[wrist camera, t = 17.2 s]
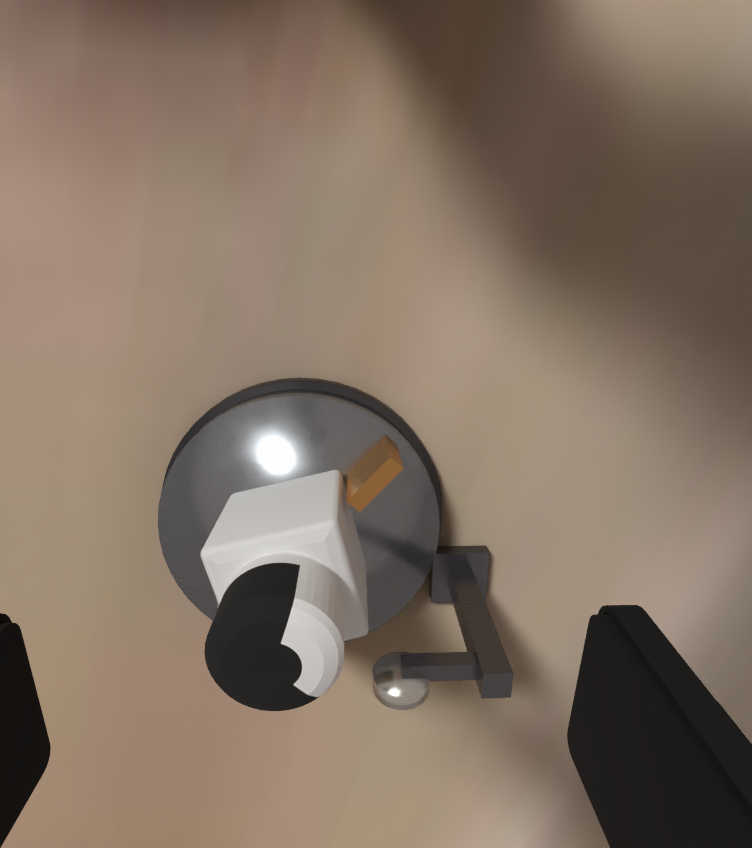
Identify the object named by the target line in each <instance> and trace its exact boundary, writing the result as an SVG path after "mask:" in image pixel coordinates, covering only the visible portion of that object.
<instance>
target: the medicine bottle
mask: <svg viewBox="0 0 752 848" xmlns="http://www.w3.org/2000/svg"><path fill="white" fill-rule="evenodd" d="M346 498H347V493H346V489H345V485H344V482H343V478H342V474H341V473H340V471H338V470H332V471H328V472H323V473H319V474H315V475H310V476H306V477H302V478H298V479H293V480H289V481H285V482H280V483H276V484H272V485H267V486H263V487H259V488H255V489H250V490H246V491H242V492H237V493H234V494H232V495H231V496H230V498H229V500H228V501H227V503H226V505H225V507H224V509H223V511H222V513H221V515H220V516H219V518H218V520H217V522H216V524H215V526H214V528H213V530H212V531H211V533H210V535H209V537H208V539H207V541H206V543H205V545H204V547H203V548H202V550H201V559H202V561H203V564H204V567H205V569H206V572H207V575H208V577H209V580H210V582H211V585H212V588H213V590H214V593H215V596H216V598H217V601H218V604H219V607H218V610H217V612H216V615H215V617H214V620H213V622H212V625H211V627H210V630H209V633H208V635H207V639H206V643H205V660H206V664H207V667H208V670H209V672H210V674H211V676H212V677H213V679H214V681H215V682H216V683H217V684H218V685H219V687H220V688H221V689H222V690H223V691H224V692H225V693H226V694H227V695H228V696H230V697H231V698H233V699H234V700H236V701H237V702H239V703H241V704H243V705H246V706H249V707H251V708H255V709H259V710H266V711H283V710H290V709H294V708H298V707H301V706H303V705H306V704H308V703H310V702H312V701H313V700H315V699H317V698H318V697H320V696H321V695H323V694H324V693H325V692H326V691H327V690H328V689H329V688H330V687H331V686H332V685H333V684H334V682H335V681H336V679H337V678H338V676H339V674H340V671H341V669H342V665H343V661H344V641H346V640H350V639H355V638H359V637H363V636H365V635H366V634H367V633H368V608H367V586H366V563H365V559H364V555H363V552H362V548H361V544H360V541H359V537H358V533H357V530H356V526H355V522H354V519H353V515H352V511H351V508H350V504H349V503H348V502H346Z"/></svg>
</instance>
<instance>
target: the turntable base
mask: <svg viewBox="0 0 752 848" xmlns="http://www.w3.org/2000/svg"><path fill="white" fill-rule="evenodd" d="M288 389H312V390H319V391H326V392H332V393H335V394H339V395H342V396H346V397H349V398H351V399H354V400H356V401H358V402H361V403H363V404H365V405H367V406H369V407H370V408H372V409H374V410H376V411H377V412H379V413H381V414H382V415H383V416H384V417H386V418H387V419H388V420H390V421H391V422H392V423H393V424H395V425H396V426H397V427H398V428H399V429H400V430H401V431H402V432H403V433H404V434H405V435H406V437H407V438H408V439H409V440H410V442H411V443H412V445H413V446H414V447H415V449H416V450H417V452H418V453H419V455H420V457H421V459H422V461H423V463H424V464H425V467H426V469H427V472H428V475H429V477H430V480H431V483H432V486H433V488H434V491H435V495H436V499H437V504H438V508H439V522H440V528H439V535H440V530H441V521H442V498H441V492H440V486H439V481H438V478H437V475H436V472H435V469H434V466H433V464H432V461H431V459H430V457H429V455H428V453H427V451H426V449H425V447H424V445H423V444H422V442H421V441H420V439H419V438H418V436H417V435H416V433H415V432H414V431H413V430H412V428H411V427H410V426H409V425H408V424H407V423H406V422H405V421H404V419H403V418H402V417H400V416H399V415H398V414H397V413H396V412H394V411H393V410H392V409H391V408H390V407H389V406H387V405H385V404H384V403H382V402H381V401H379V400H378V399H376V398H375V397H373V396H371V395H369V394H367V393H365V392H363V391H360V390H358V389H356V388H353V387H350V386H347V385H344V384H341V383H338V382H332V381H327V380H322V379H311V378H290V379H279V380H274V381H269V382H264V383H260V384H257V385H254V386H251V387H248V388H245V389H243V390H241V391H239V392H237V393H235V394H233V395H231V396H229V397H227V398H225V399H224V400H222V401H221V402H220V403H218V404H217V405H215V406H214V407H212V408H211V409H210V410H209V411H208V412H207V413H206V414H204V415H203V416H202V417H201V418H200V419H199V420H198V421H197V422H196V423H195V424H194V425H193V426H192V427H191V429H190V430H189V431H188V432H187V434H186V435H185V436H184V437H183V438H182V440H181V442H180V443H179V445H178V447H177V448H176V450H175V452H174V453H173V456H172V458H171V461H170V463H169V465H168V468H167V471H166V475H165V479H164V483H165V480H166V477H167V475H168V472H169V471H170V469H171V467H172V465H173V463H174V461H175V460H176V458H177V456H178V455H179V454H180V452H181V451H182V450H183V449H184V447H185V446H186V445H187V443H188V442H189V441H190V440H191V439H192V438H193V437H194V436H195V435H196V434H197V433H198V432H199V431H200V430H201V429H202V428H203V427H204V426H205V425H206V424H207V423H208V422H209V421H210V420H211V419H213V418H214V417H215V416H217V415H218V414H219V413H221V412H222V411H224V410H225V409H227V408H229V407H231V406H233V405H234V404H236V403H238V402H240V401H243V400H245V399H248V398H251V397H253V396H256V395H260V394H264V393H268V392H272V391H279V390H288ZM164 483H163V486H164ZM162 488H163V487H162Z"/></svg>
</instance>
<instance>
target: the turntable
mask: <svg viewBox="0 0 752 848" xmlns="http://www.w3.org/2000/svg"><path fill="white" fill-rule="evenodd" d="M332 470H338V471H340V473H341V474H342V478H343V482H344V485H345V489H346V493H347V498H346V502H348V503H349V504H350V508H351V511H352V515H353V519H354V522H355V526H356V530H357V533H358V537H359V541H360V544H361V548H362V552H363V555H364V559H365V563H366V586H367V608H368V633H369V632H371V631H373V630H375V629H377V628H378V627H380V626H381V625H383V624H385V623H386V622H388V621H389V620H390V619H392V618H393V617H394V616H395V615H397V614H398V613H399V612H400V611H401V610H402V609H403V608H404V607H405V606H406V605H407V604H408V603H409V602H410V601H411V600H412V599H413V597H414V596H415V595H416V593H417V592H418V590H419V589H420V588H421V586H422V585H423V583H424V581H425V579H426V577H427V575H428V574H429V572H430V569H431V566H432V564H433V561H434V558H435V555H436V550H437V546H438V541H439V528H440V522H439V508H438V504H437V499H436V495H435V491H434V488H433V486H432V483H431V480H430V477H429V475H428V472H427V469H426V467H425V464H424V463H423V461H422V459H421V457H420V455H419V453H418V452H417V450H416V449H415V447H414V446H413V445H412V443H411V442H410V440H409V439H408V438H407V437H406V435H405V434H404V433H403V432H402V431H401V430H400V429H399V428H398V427H397V426H396V425H395V424H393V423H392V422H391V421H390V420H388V419H387V418H386V417H384V416H383V415H382V414H381V413H379V412H377V411H376V410H374V409H372V408H370V407H369V406H367V405H365V404H363V403H361V402H358V401H356V400H354V399H351V398H349V397H346V396H342V395H339V394H335V393H332V392H326V391H319V390H312V389H288V390H279V391H272V392H268V393H264V394H260V395H256V396H253V397H251V398H248V399H245V400H243V401H240V402H238V403H236V404H234V405H233V406H231V407H229V408H227V409H225V410H224V411H222V412H221V413H219V414H218V415H217V416H215V417H214V418H213V419H211V420H210V421H209V422H208V423H207V424H206V425H205V426H204V427H203V428H202V429H201V430H200V431H199V432H198V433H197V434H196V435H195V436H194V437H193V438H192V439H191V440H190V441H189V442H188V443H187V445H186V446H185V447H184V449H183V450H182V451H181V452H180V454H179V455H178V456H177V458H176V460H175V461H174V463H173V465H172V467H171V469H170V471H169V472H168V475H167V477H166V480H165V483H164V486H163V488H162V492H161V497H160V502H159V511H158V529H159V538H160V543H161V547H162V551H163V555H164V558H165V560H166V563H167V565H168V568H169V570H170V572H171V574H172V576H173V577H174V579H175V581H176V582H177V584H178V586H179V587H180V588H181V590H182V591H183V592H184V594H185V595H186V596H187V598H188V599H189V600H190V601H191V602H192V603H193V604H194V605H195V606H196V607H197V608H198V609H199V610H200V611H201V612H203V613H204V614H205V615H206V616H208V617H209V618H210V619H211V620H214V617H215V615H216V612H217V610H218V607H219V604H218V601H217V598H216V596H215V593H214V590H213V588H212V585H211V582H210V580H209V577H208V575H207V572H206V569H205V567H204V564H203V561H202V559H201V550H202V548H203V547H204V545H205V543H206V541H207V539H208V537H209V535H210V533H211V531H212V530H213V528H214V526H215V524H216V522H217V520H218V518H219V516H220V515H221V513H222V511H223V509H224V507H225V505H226V503H227V501H228V500H229V498H230V496H231V495H232V494H234V493H237V492H242V491H246V490H250V489H255V488H259V487H263V486H267V485H272V484H276V483H280V482H285V481H289V480H293V479H298V478H302V477H306V476H310V475H315V474H319V473H323V472H328V471H332ZM350 640H352V639H350ZM350 640H346V641H344V642H347V641H350Z"/></svg>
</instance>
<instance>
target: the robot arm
mask: <svg viewBox="0 0 752 848" xmlns="http://www.w3.org/2000/svg"><path fill="white" fill-rule="evenodd" d="M567 737H568V746H569V750H570V754H571V757H572V759H573V761H574V764H575V766H576V769H577V771H578V773H579V776H580V778H581V780H582V783H583V785H584V787H585V790H586V792H587V794H588V797H589V799H590V801H591V804H592V806H593V808H594V811H595V813H596V815H597V818H598V820H599V822H600V825H601V827H602V829H603V832H604V834H605V837H606V839H607V841H608V844H609V846H610V848H752V744H751V743H750V742H749V740H748V739H747V738H746V737H745V735H744V734H743V733H742V732H741V730H740V729H739V728H738V726H737V725H736V724H735V723H734V721H733V720H732V719H731V718H730V716H729V715H728V714H727V713H726V711H725V710H724V709H723V708H722V706H721V705H720V704H719V703H718V702H717V701H716V700H715V699H714V697H713V696H712V695H711V693H710V692H709V691H708V690H707V688H706V687H705V686H704V685H703V683H702V682H701V681H700V680H699V678H698V677H697V676H696V675H695V673H694V672H693V671H692V669H691V668H690V667H689V666H688V664H687V663H686V662H685V661H684V659H683V658H682V657H681V656H680V654H679V653H678V652H677V651H676V649H675V648H674V647H673V646H672V644H671V643H670V642H669V640H668V639H667V638H666V637H665V635H664V634H663V633H662V632H661V630H660V629H659V628H658V627H657V625H656V624H655V623H654V622H653V620H652V619H651V618H650V616H649V615H648V614H647V613H646V611H645V610H644V609H643V608H642V607H640V606H638V605H606V606H602V607H601V609H600V610H599V613H598V615H592V616H591V617H590V620H589V624H588V629H587V634H586V639H585V644H584V650H583V655H582V660H581V665H580V670H579V675H578V680H577V685H576V691H575V696H574V701H573V706H572V711H571V716H570V721H569V726H568V733H567ZM49 756H50V742H49V738H48V734H47V730H46V726H45V722H44V718H43V714H42V710H41V707H40V703H39V699H38V695H37V691H36V687H35V683H34V679H33V675H32V672H31V668H30V664H29V660H28V656H27V652H26V648H25V644H24V640H23V637H22V633H21V629H20V627H19V625H17V624H16V623H12V622H11V620H10V618H9V617H8V616H7V615H6V614H1V613H0V848H1V846H2V844H3V842H4V841H5V839H6V837H7V835H8V834H9V832H10V830H11V829H12V827H13V825H14V823H15V822H16V820H17V818H18V816H19V815H20V813H21V811H22V809H23V808H24V806H25V804H26V802H27V801H28V799H29V797H30V796H31V794H32V792H33V790H34V789H35V787H36V785H37V783H38V782H39V780H40V778H41V776H42V775H43V773H44V771H45V769H46V767H47V764H48V761H49Z"/></svg>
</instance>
